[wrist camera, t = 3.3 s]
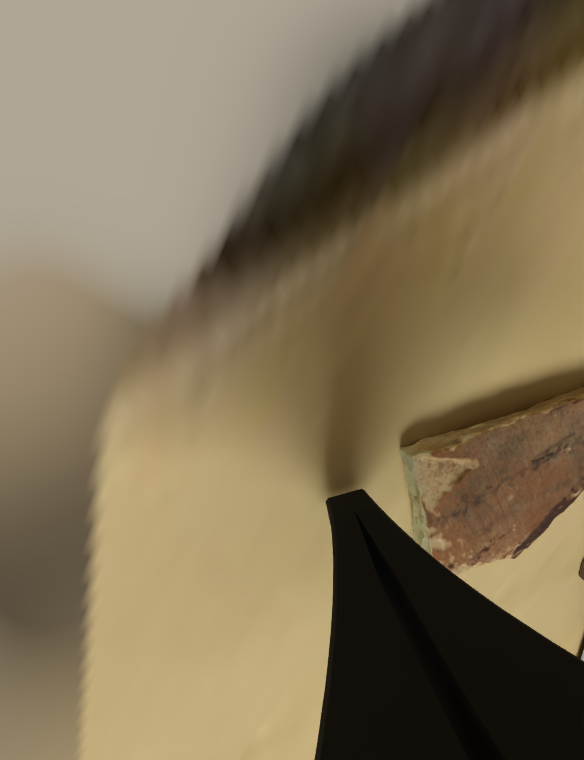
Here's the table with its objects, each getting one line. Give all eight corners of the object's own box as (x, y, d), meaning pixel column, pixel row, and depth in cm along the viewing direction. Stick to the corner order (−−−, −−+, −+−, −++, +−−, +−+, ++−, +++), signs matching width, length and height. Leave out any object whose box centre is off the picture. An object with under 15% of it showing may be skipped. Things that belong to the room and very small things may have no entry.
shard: (644, 349, 11) (712, 361, 10) (614, 492, 14) (663, 520, 12) (389, 431, 11) (415, 459, 9) (411, 561, 14) (433, 601, 12)
